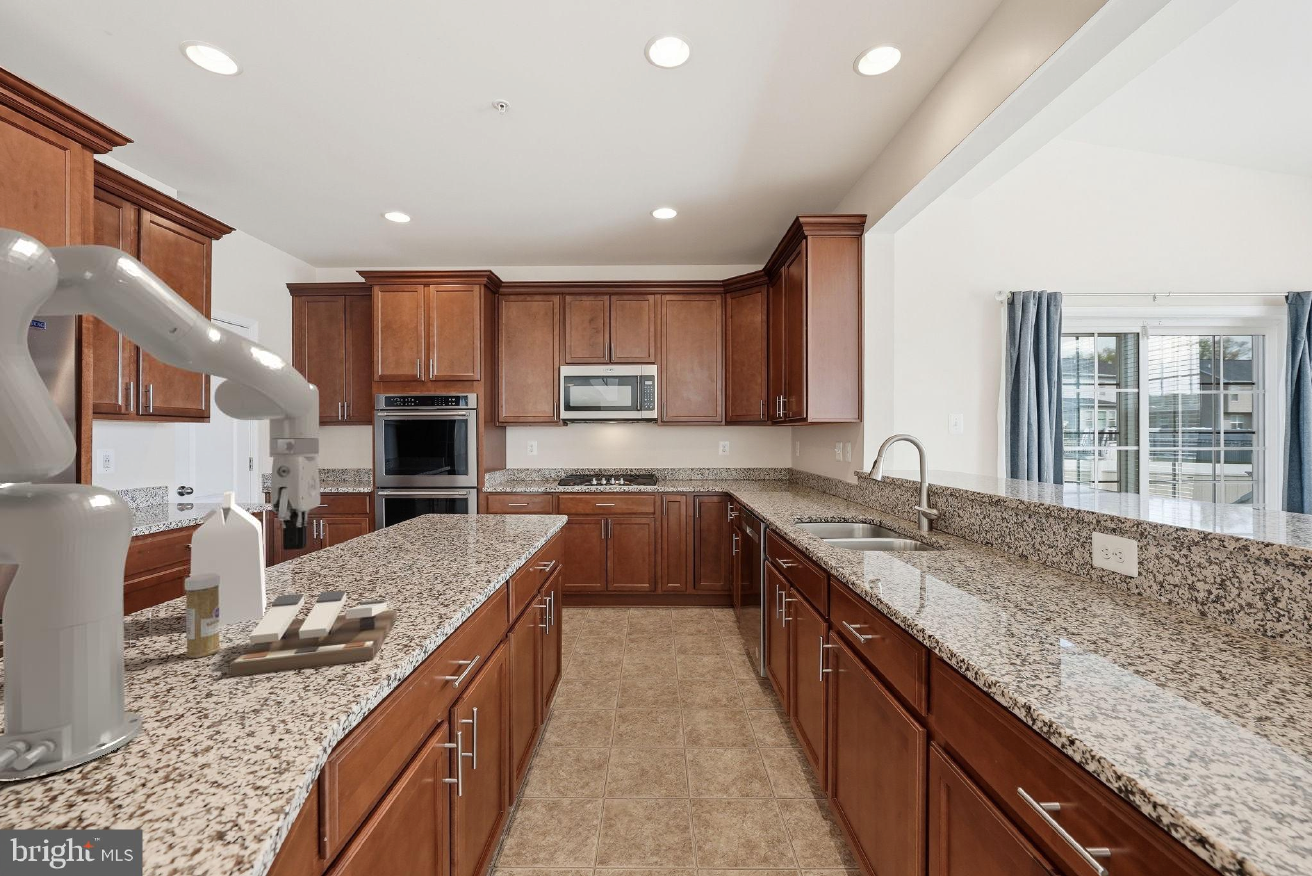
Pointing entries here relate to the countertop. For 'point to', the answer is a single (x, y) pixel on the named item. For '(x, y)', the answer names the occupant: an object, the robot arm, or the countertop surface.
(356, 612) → the block
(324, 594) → the rocker middle
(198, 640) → the sprinkles bottle
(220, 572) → the milk
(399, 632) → the countertop surface
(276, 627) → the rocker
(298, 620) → the switch unit
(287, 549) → the robot arm
